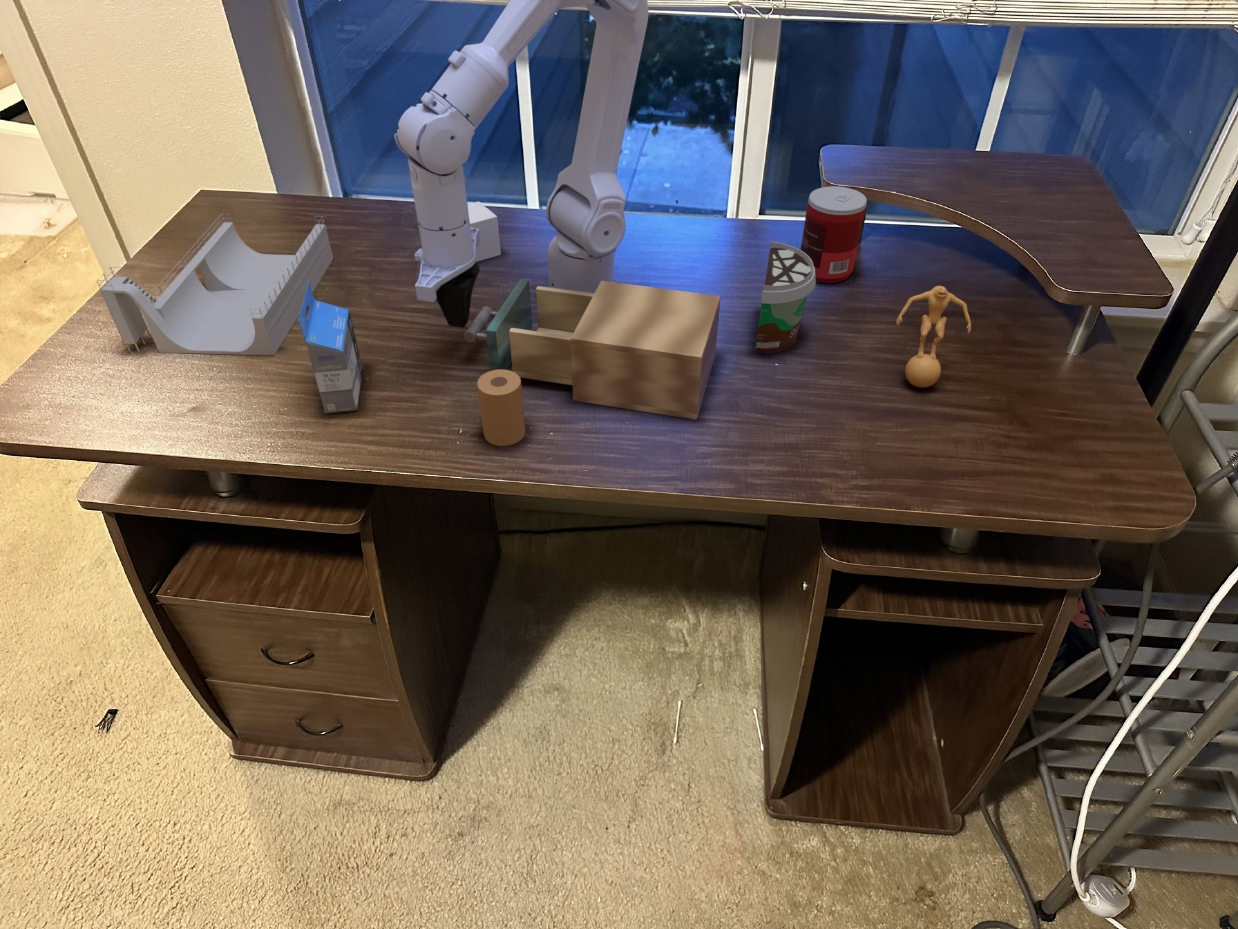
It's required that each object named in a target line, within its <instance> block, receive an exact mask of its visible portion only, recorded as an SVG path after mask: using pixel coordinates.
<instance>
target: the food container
mask: <svg viewBox="0 0 1238 929" xmlns="http://www.w3.org/2000/svg"><path fill="white" fill-rule="evenodd" d="M765 271H766V272H765V278H764V284H763V288H762V294H761V302H760V311H759V318H758V325H757V326H758V327H757V333H756V342H755V349H754V353H758V354H770V353H771V354H772V353H778V352H781V351H784V350H787V349H788V348H790V347H791V346H793V345H794V344H795V342H796V340H797V337H798V333H799V329H800V326H801V322H802V318H803V314H804V309H805V305H806V302H807V298H808V296H809V295H810V294H811V293H812V292H813V291H814V290H815V287H816V285H817V284H816V283H817V282H816V278H815V268H814V266H813V262H812V260H811V259H810V257H809V256H808V255H807V254H806V253H804V252H803V251H801V249H799V248H798V247H795V246H793V245H789V244H786V243H783V242H778V241H770V243H769V250H768V257H767V263H766V270H765Z"/></svg>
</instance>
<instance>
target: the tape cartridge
mask: <svg viewBox="0 0 1238 929" xmlns="http://www.w3.org/2000/svg"><path fill="white" fill-rule="evenodd" d="M307 308H308V313H307ZM306 315H307V317H306ZM297 324H298V326H299V329H300V331H301V334H302V337H303V339H304V342H305V345H306V349H307V352H308V355H309V360H310V363H311V367H312V370H313V374H314V378H315V382H316V386H317V389H318V392H319V395H320V396H319V397H320V400H321V403H322V407H323V412H324V414H325V415H328V414H339V413H348V412H356V411H358V408H359V400H360V394H361V386H362V379H363V378H362V377H363V370H364V367H363V362H362V358H361V354H360V351H359V346H358V342H357V338H356V334H355V328H354V325H353V321H352V317H351V312H350V310H349V309H348V308H344V307H341V306H337V305H334V304H330V303H326V302H323V301H321V300H316V299H315V297H314V292H313V293H312V290H311V287H310V283H309V281H308V283H307V287H306V291H305V294H304V298H303V302H302V305H301V310H300V314H299V316H298V318H297Z"/></svg>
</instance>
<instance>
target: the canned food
mask: <svg viewBox="0 0 1238 929" xmlns="http://www.w3.org/2000/svg"><path fill="white" fill-rule="evenodd" d="M867 199H868V198H867V197H866V195H864V193H862V192H860V191H859V190H856V189H853V188H850V187H845V186H837V185H835V186H834V185H833V186H823V187H819V188H816V189H814V190H812V191H811V192H810V194H809V197H808V199H807V205H806V211H805V218H804V224H803V230H802V237H801V244H800V245H801V246H800V250H801V251H803V252H804V253H806V254H807V255H808V256H809V257H810V259H811V260H812V262H813V266H814V268H815V278H816V283H820V284H837V283H841V282H843V281H846V280H847V279H848V278H849V277H850V276H851V274H852V273H853V270H854V267H855V262H856V257H857V253H858V248H859V243H860V239H861V234H862V229H863V224H864V220H865V215H866V209H867V201H868V200H867Z"/></svg>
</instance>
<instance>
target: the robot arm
mask: <svg viewBox="0 0 1238 929" xmlns="http://www.w3.org/2000/svg"><path fill="white" fill-rule="evenodd" d="M582 6H585V7H586V9H587V11H588V12H589V14H590V15H591V16H592V18H593V20H594V21H595V23H596V24H595V25H596V27H595V31H594V37H593V43H592V49H591V54H590V58H589V59H590V60H589V65H588V71H587V76H586V82H585V88H584V94H583V97H582V98H583V99H582V105H581V110H580V116H579V120H578V121H579V122H578V127H577V133H576V138H575V144H574V151H573V153H572V154H573V155H572V159H571V160H572V161H571V164H569V165H568V166H567V167H565V168H564V169H562V171H560V172H559V173H558V176H557V179H556V185H555V187H554V189H553V191H552V192H551V194H550V196H549V198H548V200H547V203H546V207H545V214H546V219H547V222H548V224H549V225H550V226H551V227H552V228H553V229H555V233H556V234H555V236H554V237H553V238H552V240H551V241H550V243H549V245H548V248H547V269H548V270H547V271H548V287H550V288H557V289H565V290H572V291H580V292H587V293H595V292H596V290H597V288H598V286H599V284H600V282H601V281H608V282H615V253H616V252H617V249H618V247H619V246H620V245H621V243H622V242H623V239H624V237H625V233H626V228H627V226H626V225H627V222H626V217H625V206H626V201H627V199H626V196H625V193H624V191H623V188H622V186H621V183H620V181H619V179H618V177H617V170H618V167H619V166H618V165H619V161H620V157H621V152H622V148H623V142H624V137H625V133H626V128H627V123H628V118H629V114H630V109H631V103H632V100H633V94H634V89H635V84H636V79H637V75H638V70H639V66H640V65H639V64H640V60H641V56H642V51H643V46H644V40H645V37H646V31H647V27H648V21H649V3H648V0H509V1H508V3H507V5H506V6H505V7H504V9H503V10H502V12H501V13H500V15H499V17H498V18H497V19H496V21H495V23H494V24H493V26H492V28H491V29H490V30H489V32H488V33H487V35H486V36H485V38H484V40H482V42H480V43H473V44H466V45H464V46H463V47H462V49H461V50H460V51H458V50H454V51H453V52H452V53H451V54H450V56H449V57H448V59H447V60H448V62H449V63H450V64H449V65H448V67H447V69H446V70H445V71H444V72H443V73H442V75H441V76H440V78H439V79H438V80H437V81H436V83H435V84H434V85H433V87H432V88H431V90H429V92H427V91H426V92H425V93H424V94H423V95H422V97H420V101H421V102H422V103H417V104H415V106H413V105H412V106H410V107H409V108H407V109H406V110H405V111H404V112H403V114H402V115H401V117H400V118H399V121H398V123H397V126H398V129H397V130H396V133H394V135H393V137H394V141H395V143H396V146H397V147H398V149H399V150H400V151H401V152H402V153H403V154H404V155H406V157H407V163H408V169H409V175H410V184H411V190H412V196H413V202H414V209H415V213H416V215H415V216H416V220H417V226H418V233H419V238H420V245H421V247H420V248H419V249H417V250H416V252H415V253H414V255H413V256H414V260H415V261H416V262H417V261H418V262H420V266H419V267H420V268H419V275H418V279H417V281H416V282H415V284H414V289H415V295H416V296H415V297H416V301H421V302H428V303H434V302H436V303H437V304H438V305H439V307H440V309H441V312H442V314H443V316H444V319H445V321H446V322H447V325H448V326H449V327H456V328H461V329H463V328H465V327H466V326H467V324H468V323H469V319H470V311H471V302H472V297H473V291H474V288H475V284H476V281H477V278H478V275H479V273H480V270H481V269H480V265H479V264H477V262H476V247H478V246H479V245H480V244H481V239H480V230H479V229H476V228H470V220H469V212H468V204H469V203H468V196H467V188H466V180H465V173H464V164H465V163H466V162H467V161H469V160H468V159H469V157H470V155H471V150H472V139H473V137H474V135H475V134H476V132H475V131H476V129H477V128H478V127H479V125H480V124H481V123H482V122H483V120H484V119H485V117H486V116H487V115H488V113H489V112H490V111H492V108H493V107H494V106H495V105H496V103H497V102H498V100H499V99H500V98H501V97H502V95H503V94H504V93H505V92H506V90H507V89H508V87H509V85H510V84H509V83H510V80H509V79H510V78H509V67H510V66H511V65H512V63H513V62H515V60H516V59H517V58H518V57H519V56H520V55H521V53H522V52H523V51H524V50H525V49H526V48H527V46H528V45H529V44H530V43H531V42H532V41H533V40H534V39H535V37H536V36H537V35H538V34H539V33H540V31H541V30H542V29H543V28H544V27H545V26H546V25H547V24H548V22H549V21H550V20H551V19H552V18H553V17H554V15H556V13H557V12H558V11H559V10H560V9H567V8H574V7H582Z"/></svg>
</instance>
